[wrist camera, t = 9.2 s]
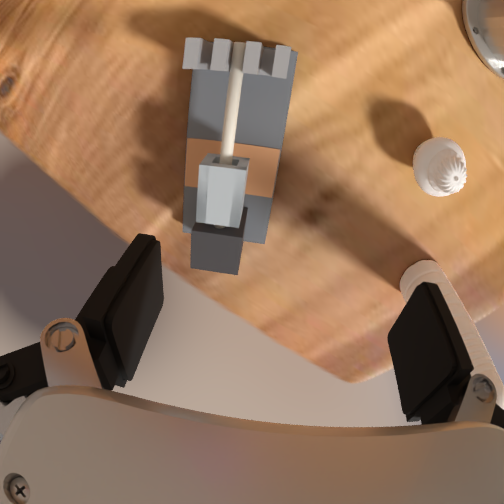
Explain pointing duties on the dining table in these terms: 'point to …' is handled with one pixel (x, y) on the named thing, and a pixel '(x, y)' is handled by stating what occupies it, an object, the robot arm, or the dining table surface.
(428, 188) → the white rounded ridged piece
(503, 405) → the water bottle
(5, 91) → the dining table surface
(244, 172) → the sleeve
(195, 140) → the board
